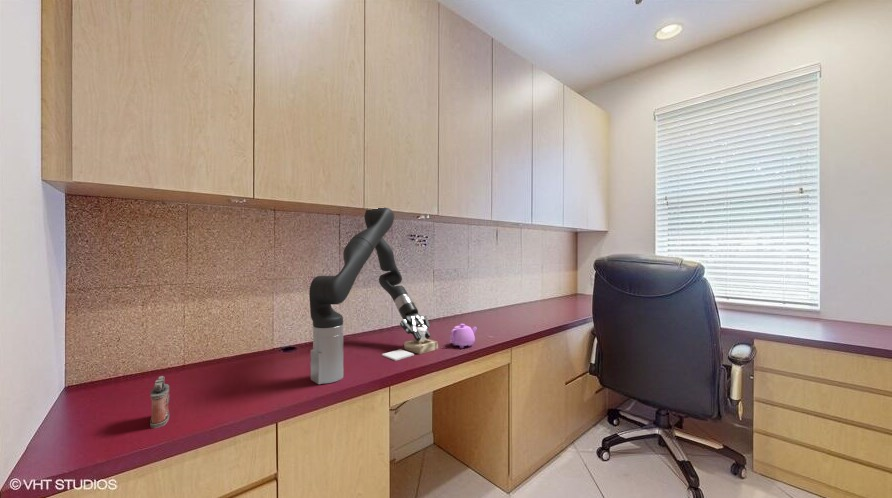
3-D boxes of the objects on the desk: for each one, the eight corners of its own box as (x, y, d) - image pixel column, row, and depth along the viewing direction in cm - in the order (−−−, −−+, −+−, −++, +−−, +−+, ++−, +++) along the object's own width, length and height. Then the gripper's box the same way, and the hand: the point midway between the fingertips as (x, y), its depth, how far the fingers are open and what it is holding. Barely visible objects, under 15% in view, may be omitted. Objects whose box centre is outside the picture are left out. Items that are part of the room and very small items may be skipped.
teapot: (443, 345, 143) (443, 324, 144) (469, 339, 152) (469, 319, 152) (458, 351, 135) (457, 328, 135) (484, 344, 144) (484, 323, 144)
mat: (395, 360, 123) (395, 359, 123) (382, 355, 130) (381, 354, 130) (414, 355, 130) (414, 353, 130) (400, 350, 136) (400, 349, 136)
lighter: (167, 425, 78) (167, 382, 78) (148, 429, 76) (148, 386, 76) (170, 412, 85) (170, 373, 85) (153, 415, 83) (153, 375, 83)
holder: (419, 354, 131) (419, 346, 131) (404, 349, 138) (404, 342, 138) (438, 348, 138) (437, 341, 138) (422, 344, 145) (422, 337, 145)
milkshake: (428, 348, 140) (429, 324, 140) (423, 351, 135) (423, 326, 135) (419, 346, 141) (420, 323, 142) (413, 349, 137) (413, 325, 137)
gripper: (396, 303, 139) (414, 336, 130) (422, 299, 149) (440, 330, 140) (389, 314, 142) (406, 347, 133) (414, 310, 152) (432, 340, 144)
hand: (424, 338), depth 137 cm, fingers closed on milkshake, 4 cm apart
